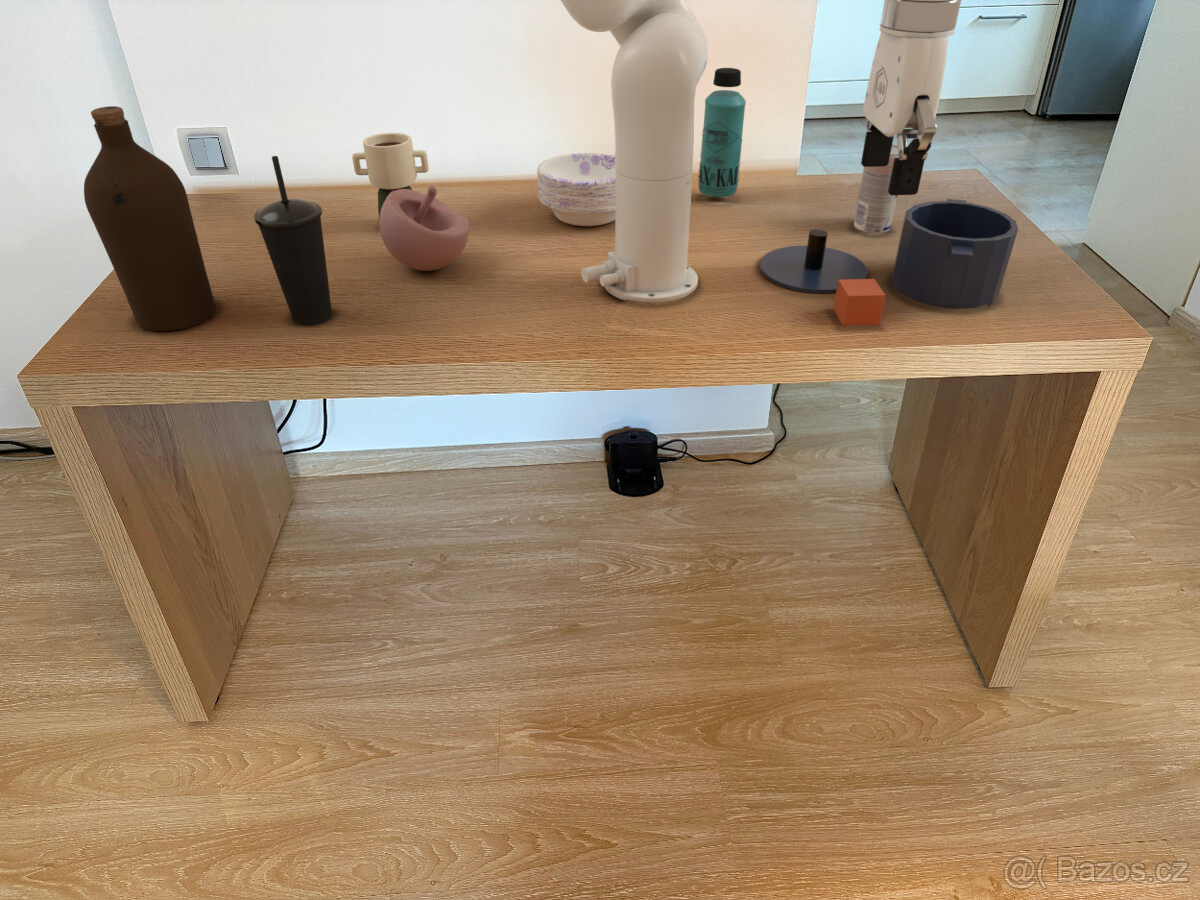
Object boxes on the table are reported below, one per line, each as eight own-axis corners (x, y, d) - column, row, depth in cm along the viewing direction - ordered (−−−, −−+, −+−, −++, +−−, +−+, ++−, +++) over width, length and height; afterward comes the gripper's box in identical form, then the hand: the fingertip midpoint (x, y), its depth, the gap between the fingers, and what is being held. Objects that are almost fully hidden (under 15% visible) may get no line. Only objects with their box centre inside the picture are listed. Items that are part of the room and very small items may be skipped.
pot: (991, 266, 117) (1010, 199, 111) (1001, 328, 102) (1024, 255, 97) (892, 255, 120) (906, 189, 114) (889, 314, 105) (905, 242, 100)
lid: (868, 259, 119) (876, 218, 115) (863, 303, 108) (871, 260, 104) (766, 248, 122) (771, 208, 119) (752, 290, 111) (756, 247, 108)
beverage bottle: (697, 191, 141) (706, 63, 129) (737, 193, 140) (749, 64, 128) (696, 205, 136) (704, 73, 124) (737, 207, 135) (749, 74, 123)
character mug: (437, 214, 134) (426, 130, 126) (434, 232, 128) (423, 145, 120) (367, 218, 133) (352, 133, 125) (361, 235, 127) (345, 148, 119)
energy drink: (886, 223, 129) (902, 143, 122) (892, 236, 125) (909, 155, 118) (850, 222, 130) (864, 143, 123) (855, 235, 125) (870, 154, 118)
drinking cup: (284, 335, 102) (241, 171, 90) (277, 309, 108) (236, 151, 96) (348, 323, 105) (314, 162, 93) (338, 298, 110) (304, 143, 98)
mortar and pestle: (470, 283, 114) (461, 200, 107) (381, 287, 113) (366, 204, 106) (475, 247, 123) (467, 169, 116) (392, 250, 123) (379, 172, 116)
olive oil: (233, 317, 106) (171, 111, 91) (145, 343, 101) (64, 129, 86) (205, 288, 113) (143, 92, 98) (121, 312, 108) (42, 108, 93)
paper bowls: (625, 195, 140) (625, 147, 135) (644, 230, 128) (646, 178, 123) (534, 202, 138) (531, 153, 133) (545, 238, 126) (542, 185, 121)
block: (878, 328, 103) (885, 294, 100) (842, 329, 102) (848, 295, 100) (867, 311, 106) (874, 278, 103) (832, 312, 106) (838, 279, 103)
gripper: (858, 2, 94) (834, 157, 104) (913, 33, 80) (880, 207, 91) (924, 1, 95) (894, 155, 105) (990, 31, 81) (948, 205, 91)
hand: (887, 179), depth 98 cm, fingers open, 9 cm apart
